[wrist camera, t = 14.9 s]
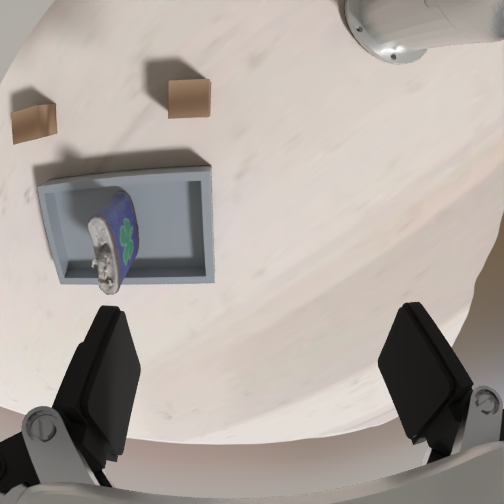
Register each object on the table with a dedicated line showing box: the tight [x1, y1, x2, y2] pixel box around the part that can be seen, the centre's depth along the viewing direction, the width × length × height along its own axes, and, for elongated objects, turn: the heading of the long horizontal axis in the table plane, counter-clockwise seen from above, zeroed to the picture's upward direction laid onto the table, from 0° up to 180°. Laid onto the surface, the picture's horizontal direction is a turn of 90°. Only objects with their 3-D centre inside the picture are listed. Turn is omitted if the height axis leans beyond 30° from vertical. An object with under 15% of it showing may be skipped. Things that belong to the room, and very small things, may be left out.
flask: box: [87, 192, 139, 295], centre depth 32 cm, size 9×3×11 cm, turn 178°
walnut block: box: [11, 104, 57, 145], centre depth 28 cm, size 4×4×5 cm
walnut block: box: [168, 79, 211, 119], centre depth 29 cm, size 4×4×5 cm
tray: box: [37, 165, 215, 285], centre depth 36 cm, size 14×22×4 cm, turn 89°
